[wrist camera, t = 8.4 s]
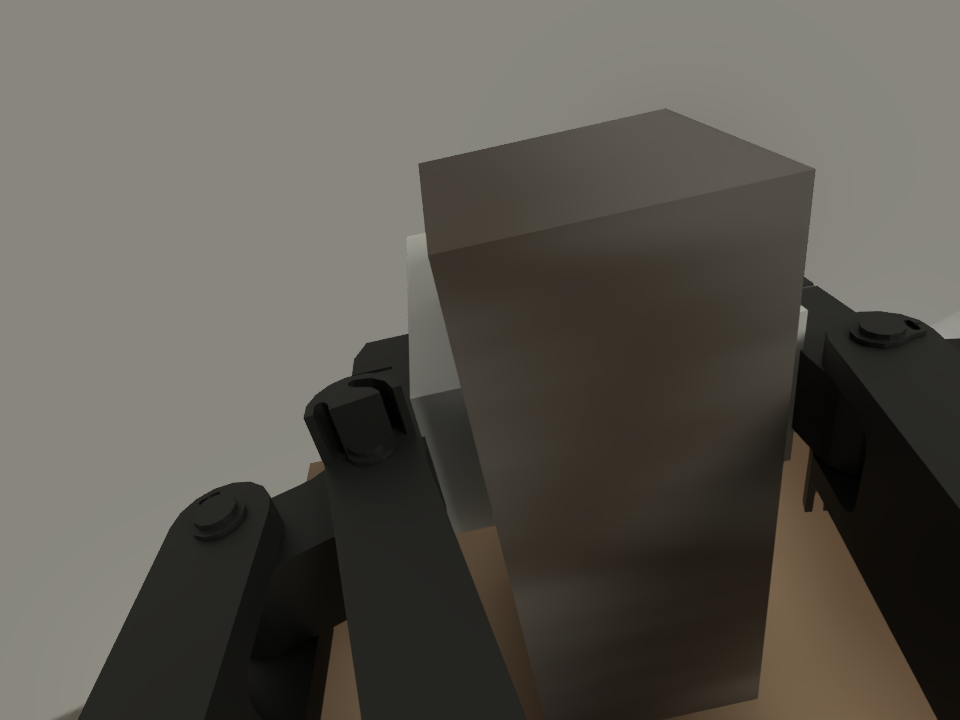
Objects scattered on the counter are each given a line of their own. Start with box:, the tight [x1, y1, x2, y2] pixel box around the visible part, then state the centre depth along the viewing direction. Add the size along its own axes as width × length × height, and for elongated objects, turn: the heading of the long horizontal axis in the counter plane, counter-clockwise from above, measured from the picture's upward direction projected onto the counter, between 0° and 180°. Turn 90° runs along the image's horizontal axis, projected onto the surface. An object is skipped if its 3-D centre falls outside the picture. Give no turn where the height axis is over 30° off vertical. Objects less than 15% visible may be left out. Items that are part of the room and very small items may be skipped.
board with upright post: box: [307, 109, 937, 720], centre depth 11 cm, size 16×16×11 cm
